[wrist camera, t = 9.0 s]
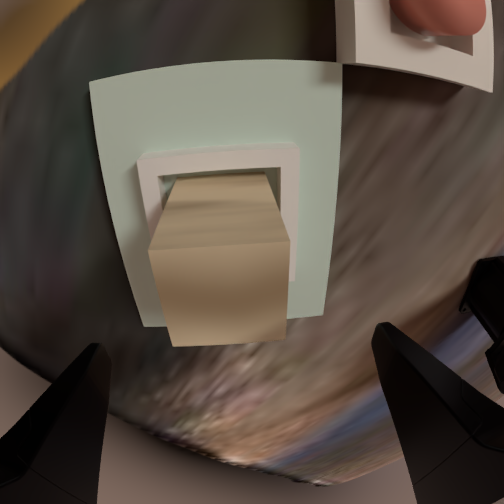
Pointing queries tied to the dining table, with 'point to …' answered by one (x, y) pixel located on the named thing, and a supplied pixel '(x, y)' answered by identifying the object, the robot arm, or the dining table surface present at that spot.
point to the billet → (222, 261)
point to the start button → (441, 16)
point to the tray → (223, 156)
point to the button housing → (412, 45)
